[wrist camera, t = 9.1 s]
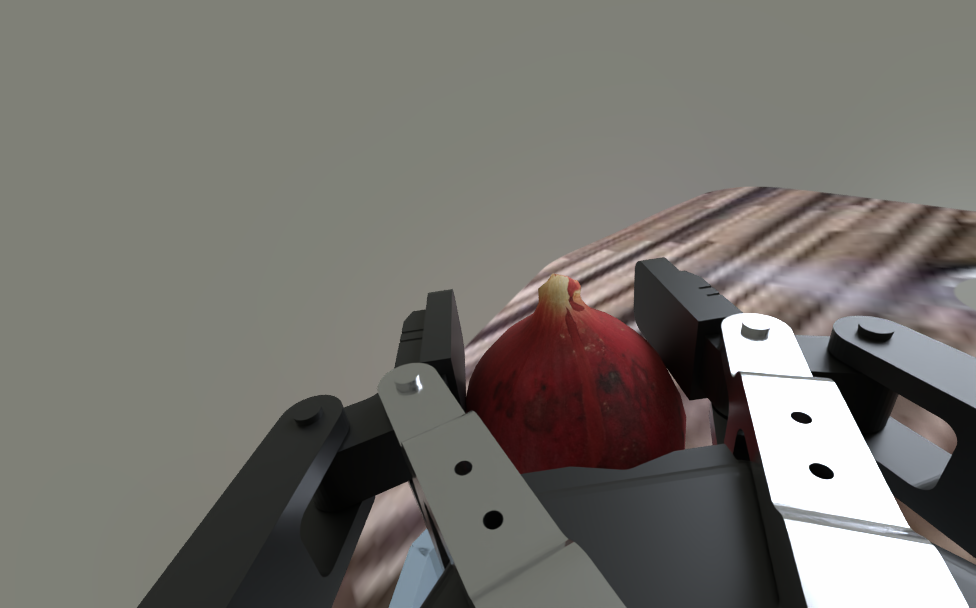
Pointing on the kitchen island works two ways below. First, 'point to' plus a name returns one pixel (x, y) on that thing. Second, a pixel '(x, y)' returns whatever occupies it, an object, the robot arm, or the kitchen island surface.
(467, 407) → the onion
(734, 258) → the kitchen island surface
